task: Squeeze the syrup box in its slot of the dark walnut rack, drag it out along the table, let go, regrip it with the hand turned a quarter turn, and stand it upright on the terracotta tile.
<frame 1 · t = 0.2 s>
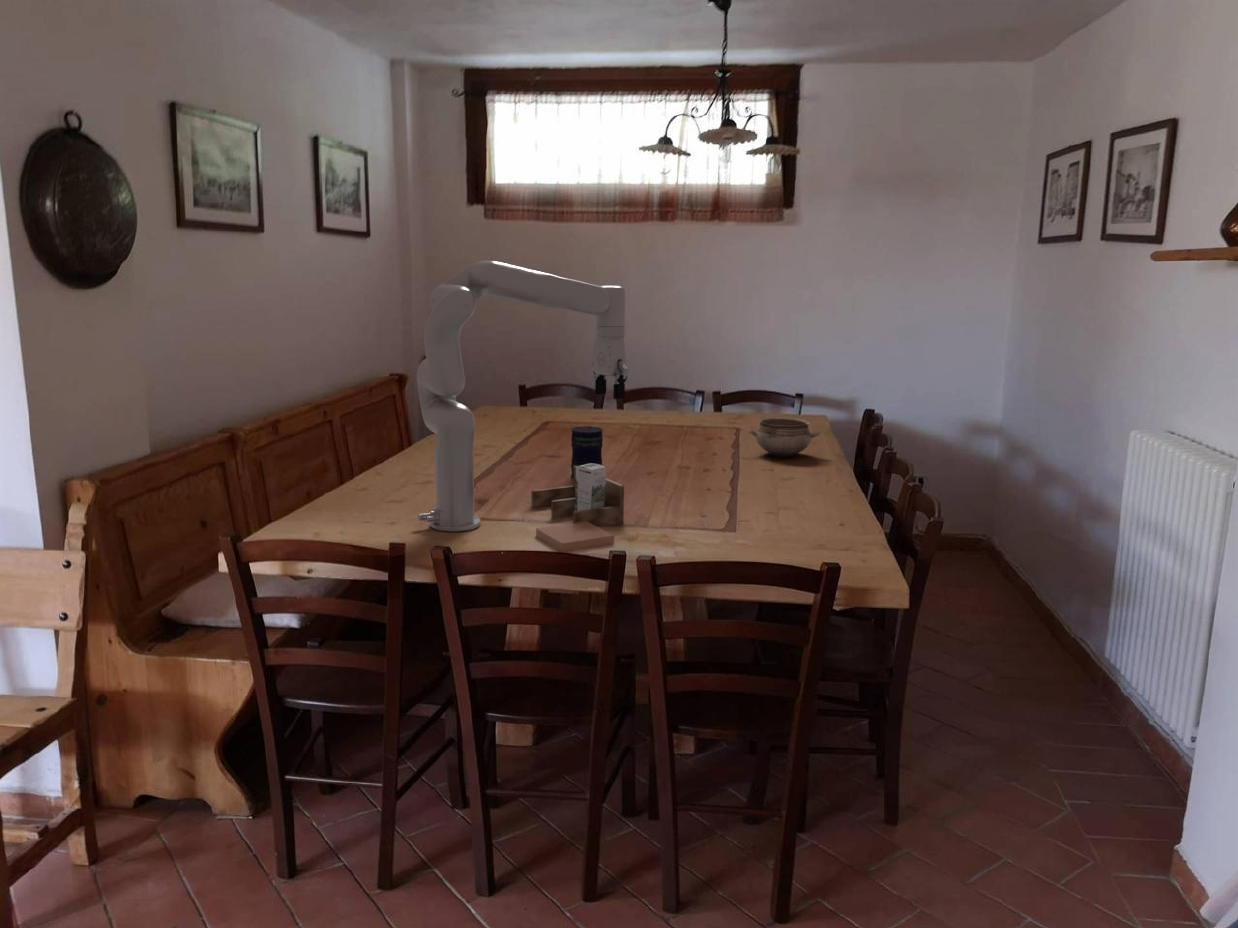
hand: (609, 396, 254), 31 cm above the table, tool pointing down, fingers open, 9 cm apart
storage jar: (586, 476, 295), on the table
walnut rack: (590, 519, 247), on the table
terracotta tile: (574, 539, 229), on the table
syrup box: (590, 520, 247), on the table
cooking pot: (782, 456, 331), on the table
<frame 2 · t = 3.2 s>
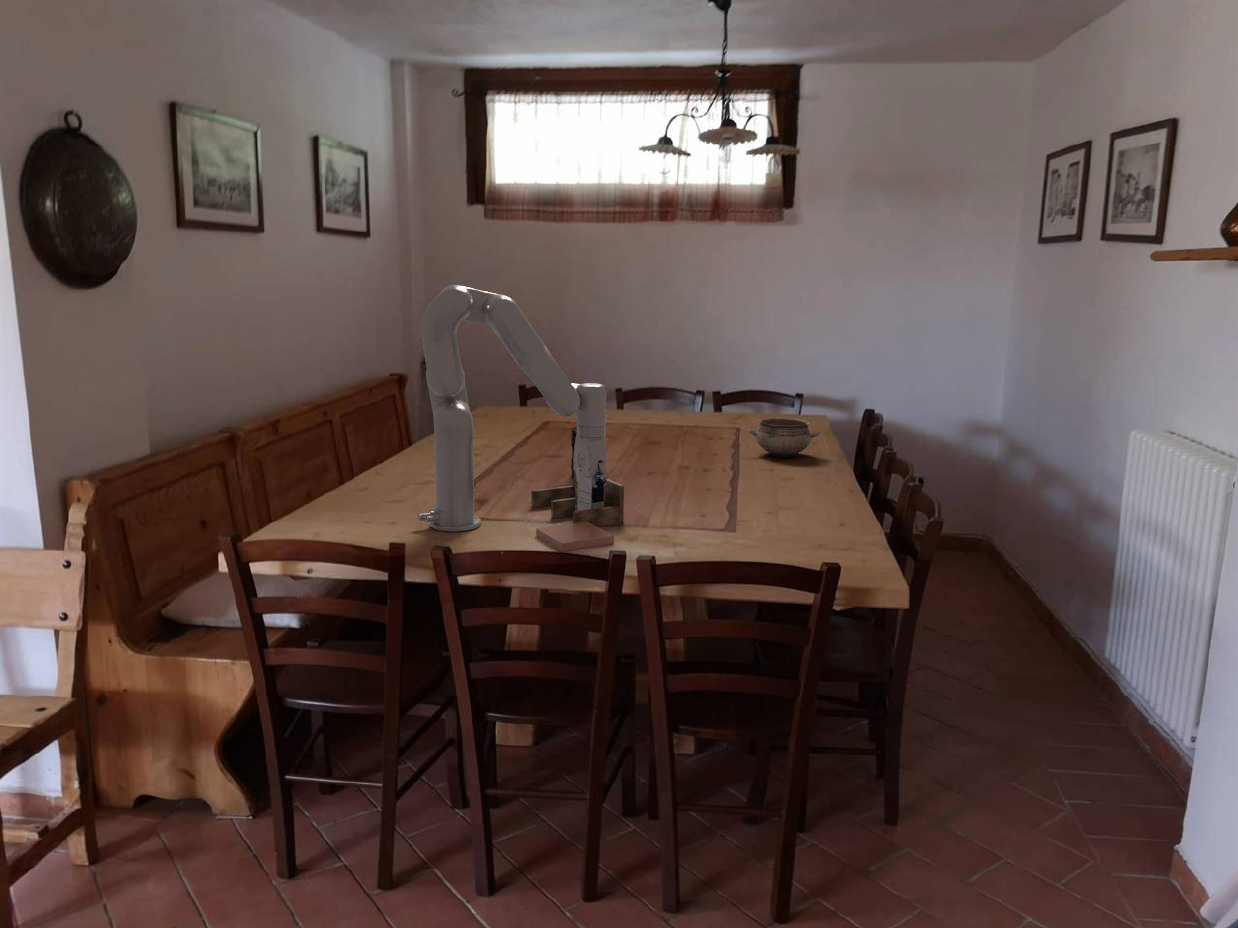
hand: (590, 498, 245), 6 cm above the table, tool pointing down, fingers closed on syrup box, 7 cm apart
syrup box: (590, 520, 247), on the table, touching gripper
everything else where it was.
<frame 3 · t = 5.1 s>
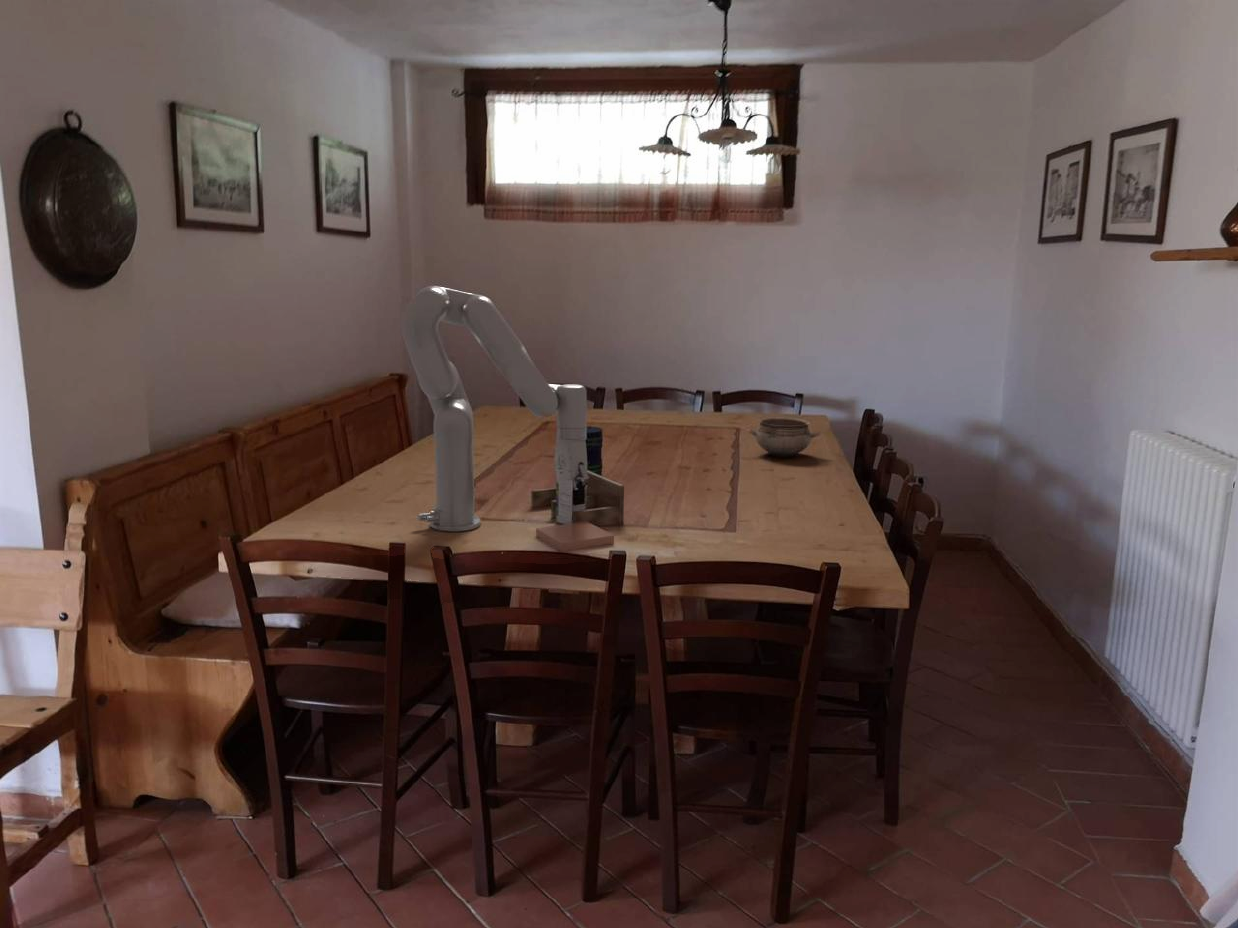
hand: (571, 500, 243), 6 cm above the table, tool pointing down, fingers closed on syrup box, 7 cm apart
syrup box: (571, 522, 244), on the table, touching gripper
everything else where it was.
when the fingers open (6 cm above the table, at t = 7.3 s): syrup box stays where it is, on the table.
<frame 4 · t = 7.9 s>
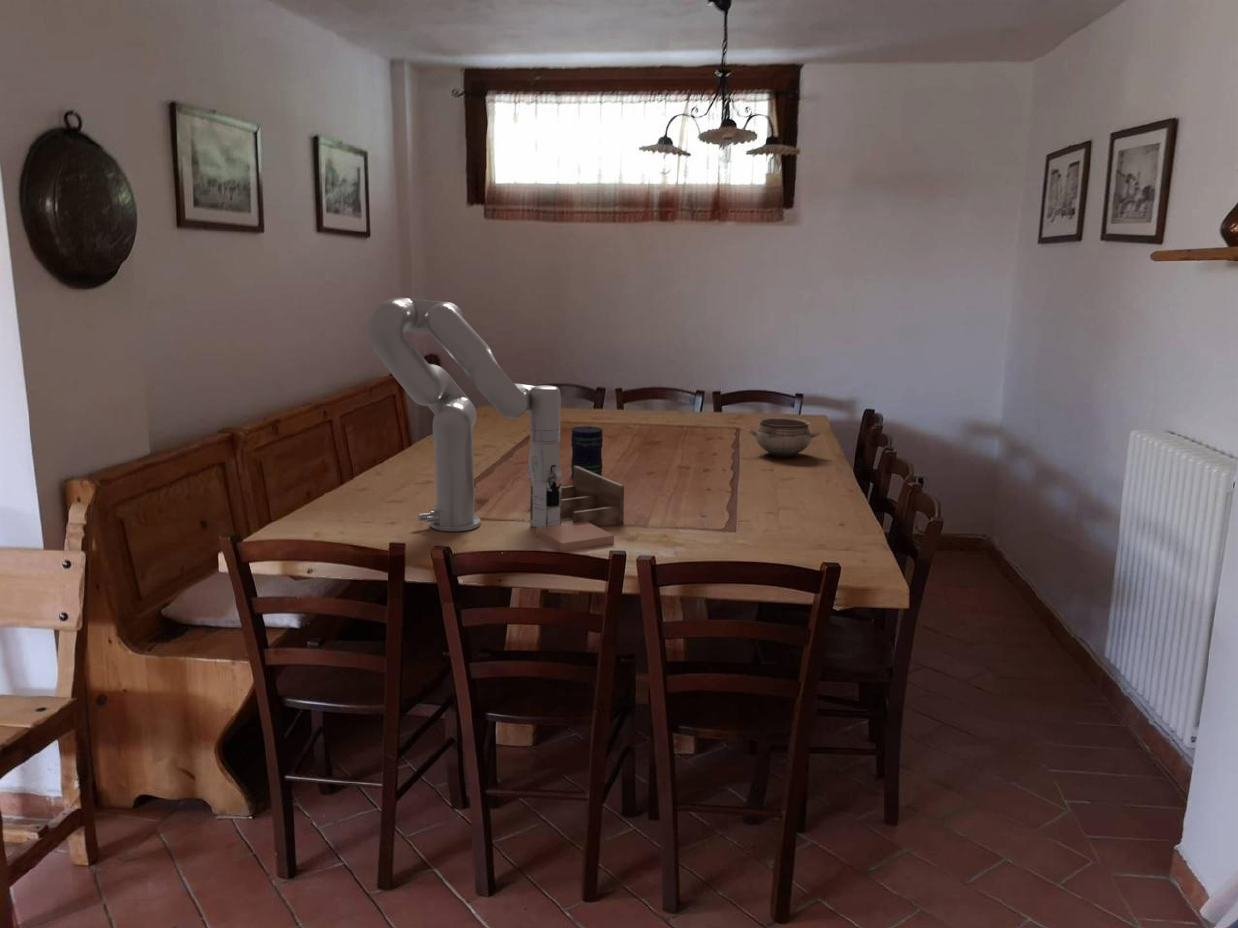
hand: (544, 501, 239), 6 cm above the table, tool pointing down, fingers open, 9 cm apart
syrup box: (545, 526, 240), on the table
everything else where it was.
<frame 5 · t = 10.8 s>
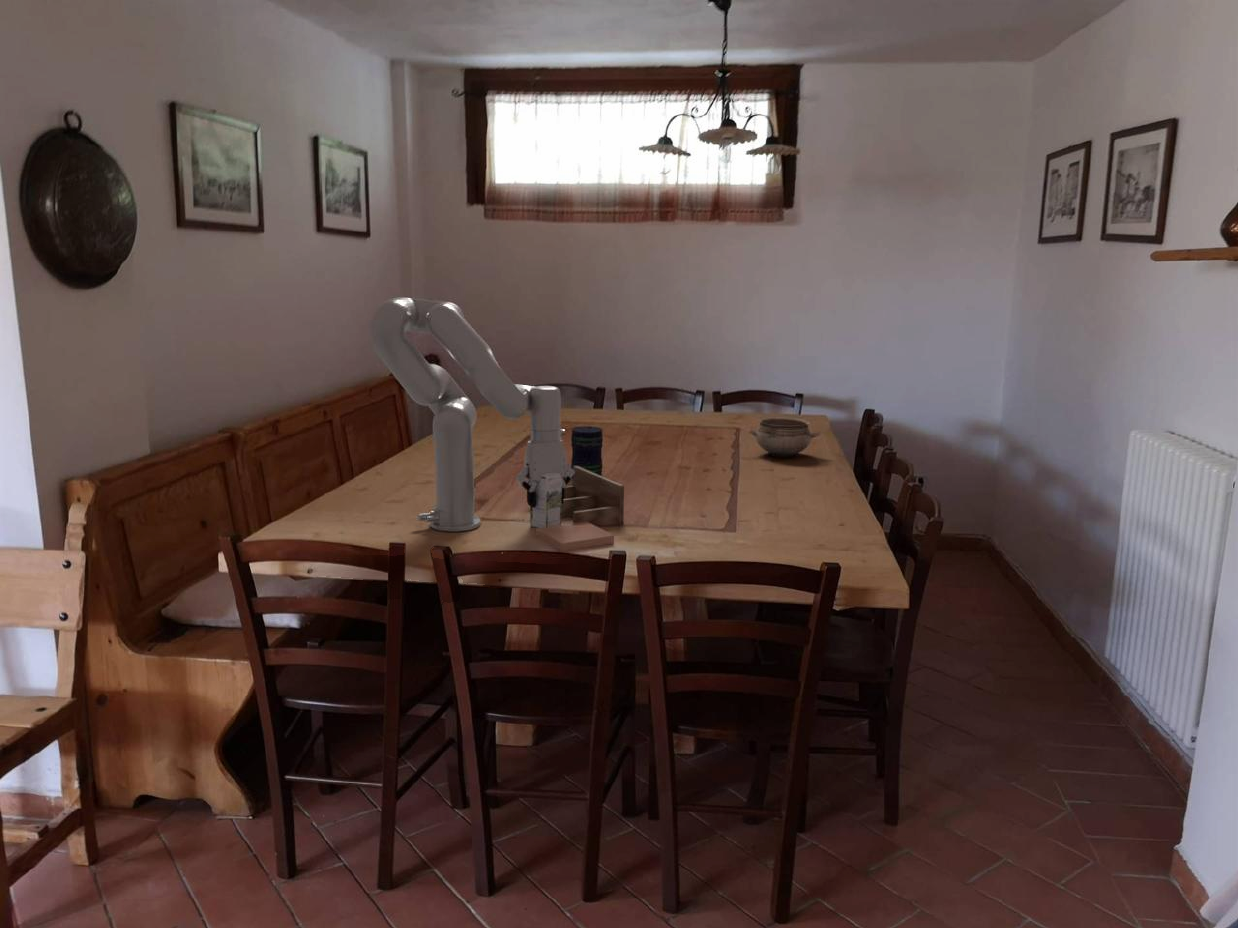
hand: (545, 503, 239), 6 cm above the table, tool pointing down, fingers closed on syrup box, 7 cm apart
syrup box: (546, 526, 240), on the table, touching gripper
everything else where it was.
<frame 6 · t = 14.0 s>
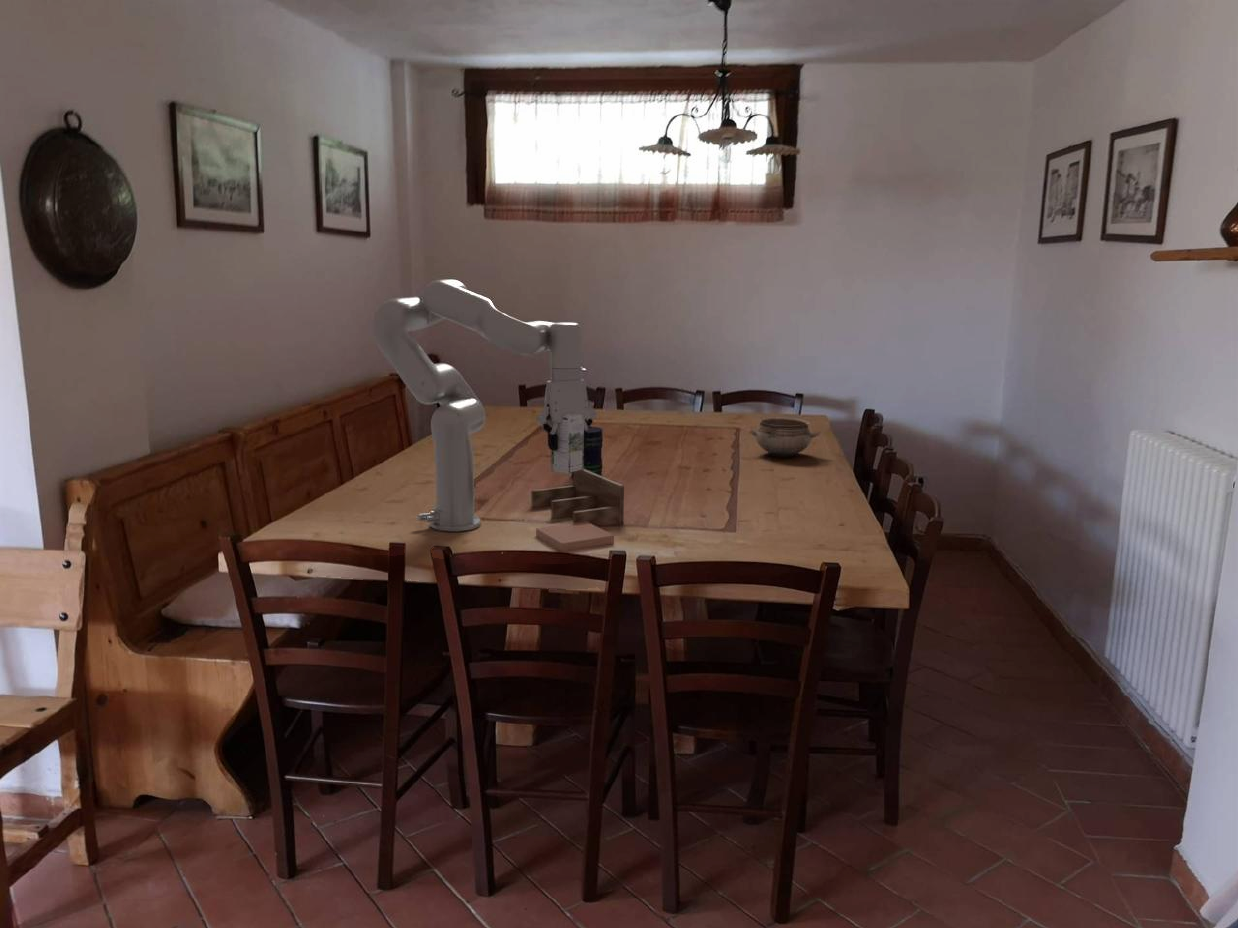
hand: (567, 447, 228), 22 cm above the table, tool pointing down, fingers closed on syrup box, 7 cm apart
syrup box: (567, 471, 229), point 16 cm above the table, touching gripper
everything else where it was.
when the fingers open (10 cm above the table, at t = 17.1 s): syrup box drops 2 cm, resting on terracotta tile.
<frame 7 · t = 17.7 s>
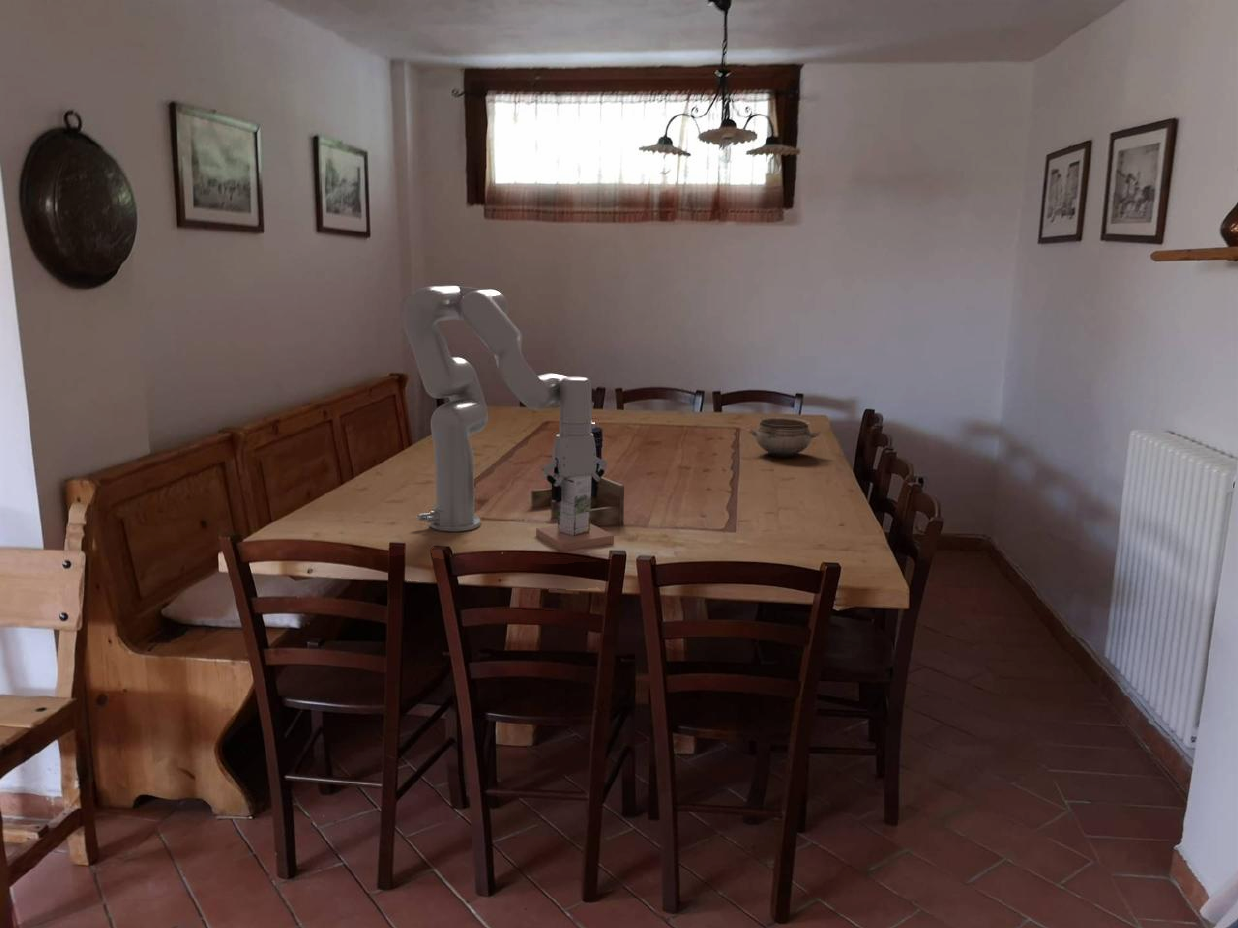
hand: (574, 498, 227), 10 cm above the table, tool pointing down, fingers open, 9 cm apart
syrup box: (574, 532, 229), point 2 cm above the table, touching terracotta tile
everything else where it was.
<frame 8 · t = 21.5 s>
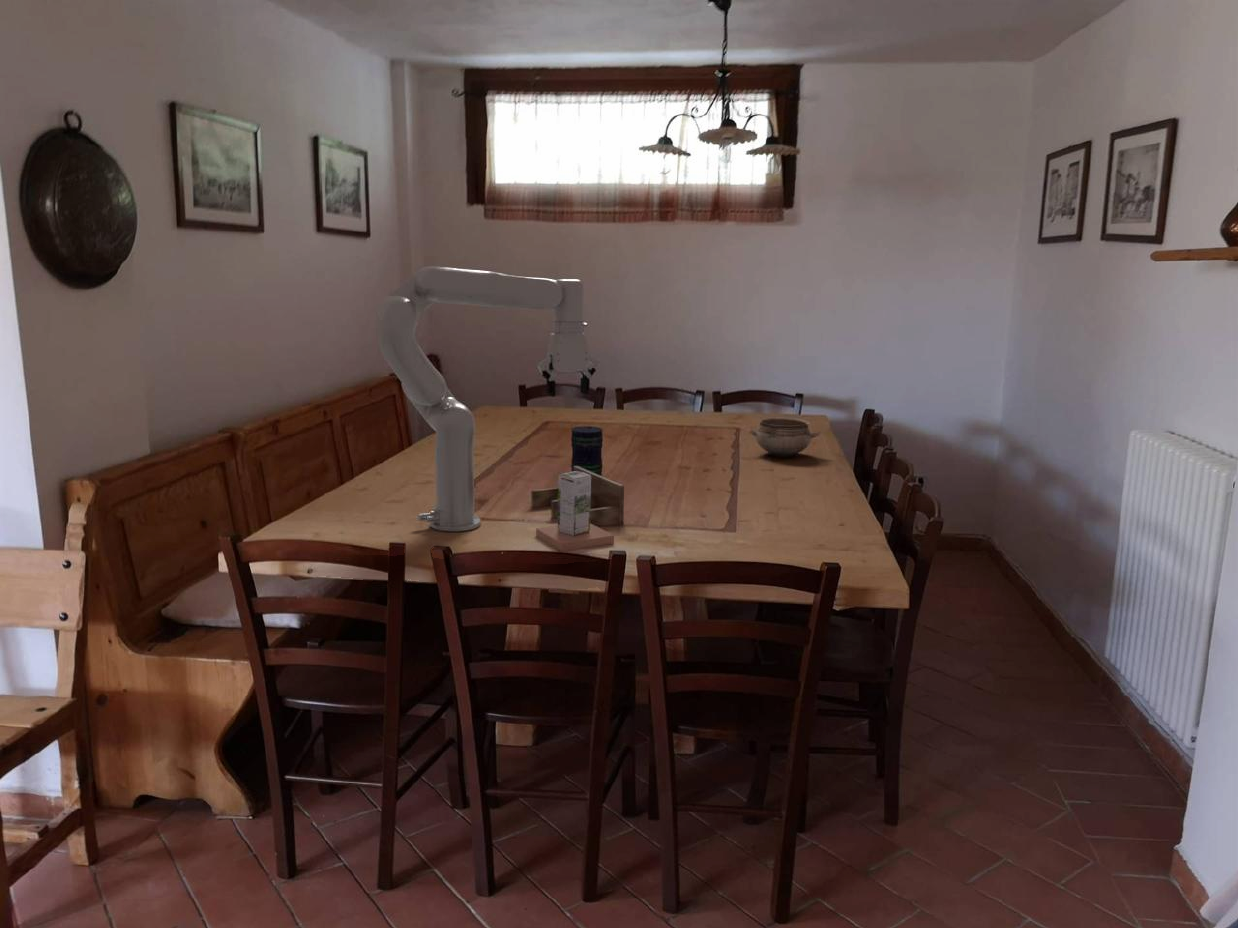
hand: (568, 394, 244), 32 cm above the table, tool pointing down, fingers open, 9 cm apart
nothing on the table moved.
at the end: syrup box inside the target area on the terracotta tile (0.1 cm from its centre), point 1.8 cm above the terracotta tile's base; syrup box tilted 0°; the gripper is holding nothing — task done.
